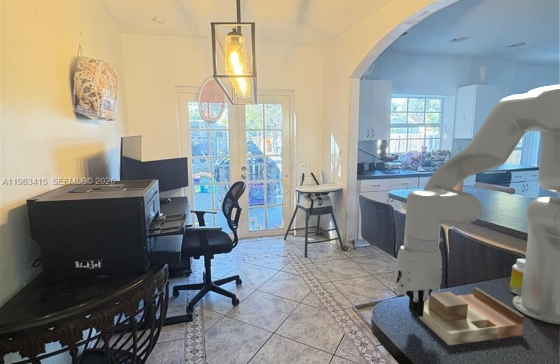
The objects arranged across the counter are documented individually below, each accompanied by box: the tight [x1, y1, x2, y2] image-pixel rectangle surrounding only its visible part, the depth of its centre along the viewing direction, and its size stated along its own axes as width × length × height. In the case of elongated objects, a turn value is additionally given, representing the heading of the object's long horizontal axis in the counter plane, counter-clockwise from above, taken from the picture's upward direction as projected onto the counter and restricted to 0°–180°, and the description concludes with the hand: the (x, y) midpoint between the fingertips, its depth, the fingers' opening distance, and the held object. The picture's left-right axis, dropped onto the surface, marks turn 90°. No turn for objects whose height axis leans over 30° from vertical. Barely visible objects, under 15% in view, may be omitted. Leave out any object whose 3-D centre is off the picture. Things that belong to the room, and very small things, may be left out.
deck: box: [418, 286, 525, 346], centre depth 76 cm, size 20×14×5 cm
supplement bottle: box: [509, 258, 525, 296], centre depth 90 cm, size 6×6×10 cm
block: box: [428, 291, 468, 322], centre depth 74 cm, size 6×6×4 cm
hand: (415, 313), depth 73 cm, fingers closed
